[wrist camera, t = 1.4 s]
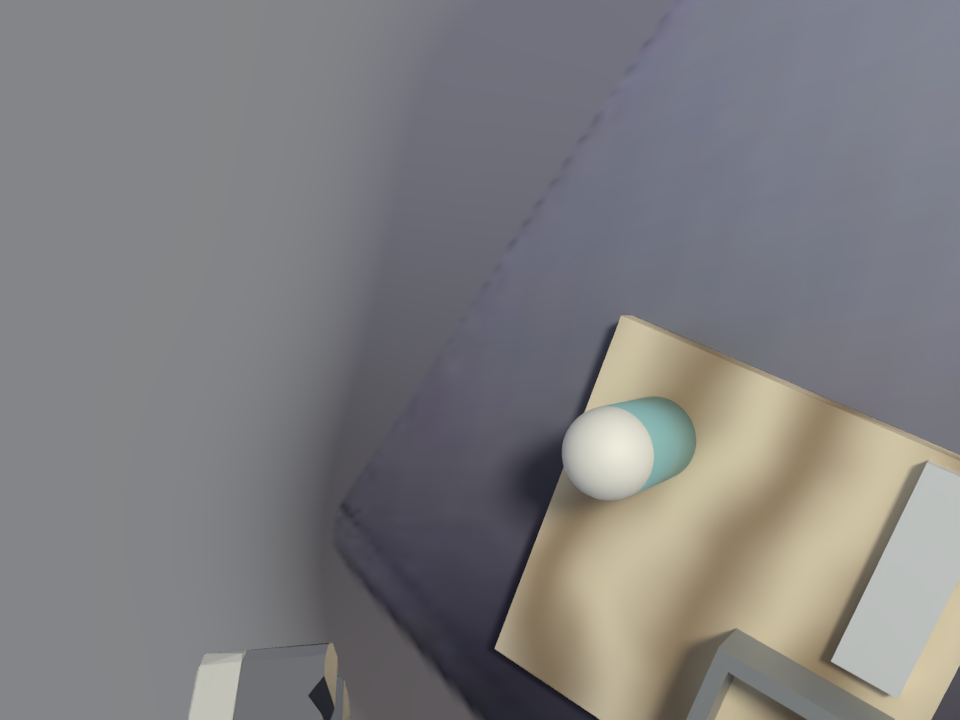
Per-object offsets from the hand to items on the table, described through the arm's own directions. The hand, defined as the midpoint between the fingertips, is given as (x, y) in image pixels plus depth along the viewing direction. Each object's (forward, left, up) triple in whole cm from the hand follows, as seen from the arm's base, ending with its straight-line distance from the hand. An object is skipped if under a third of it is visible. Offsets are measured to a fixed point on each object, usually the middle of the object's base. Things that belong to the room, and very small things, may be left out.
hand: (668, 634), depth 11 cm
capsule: (+11, +7, -33) cm, 35 cm away
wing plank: (-2, +7, -33) cm, 34 cm away
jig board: (+5, +12, -35) cm, 37 cm away
